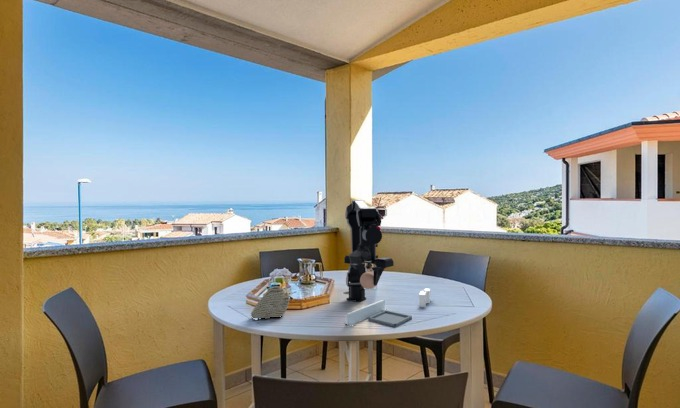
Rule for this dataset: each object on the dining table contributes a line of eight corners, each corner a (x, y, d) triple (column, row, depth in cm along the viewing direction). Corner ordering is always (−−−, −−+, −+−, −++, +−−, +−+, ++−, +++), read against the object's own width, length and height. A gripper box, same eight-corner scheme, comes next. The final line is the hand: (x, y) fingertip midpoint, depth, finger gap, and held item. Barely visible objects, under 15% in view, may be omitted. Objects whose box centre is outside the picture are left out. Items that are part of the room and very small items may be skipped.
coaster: (368, 320, 126) (368, 317, 126) (385, 312, 135) (385, 310, 135) (395, 327, 119) (395, 324, 119) (411, 318, 128) (411, 315, 128)
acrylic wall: (344, 324, 123) (344, 313, 123) (380, 309, 139) (380, 299, 139) (351, 326, 121) (351, 314, 121) (386, 310, 137) (386, 300, 137)
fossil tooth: (251, 320, 132) (290, 311, 138) (253, 324, 127) (294, 315, 132) (247, 289, 133) (286, 282, 138) (249, 292, 127) (290, 284, 132)
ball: (356, 288, 129) (356, 272, 129) (366, 286, 133) (366, 270, 134) (369, 291, 125) (369, 274, 125) (379, 288, 129) (379, 271, 130)
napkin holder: (423, 310, 139) (423, 296, 139) (403, 303, 148) (403, 290, 148) (449, 304, 147) (449, 290, 147) (429, 298, 156) (428, 285, 156)
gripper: (334, 242, 130) (334, 284, 130) (375, 245, 117) (376, 292, 117) (353, 239, 138) (354, 279, 138) (394, 242, 126) (394, 286, 125)
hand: (368, 284), depth 129 cm, fingers closed on ball, 6 cm apart
